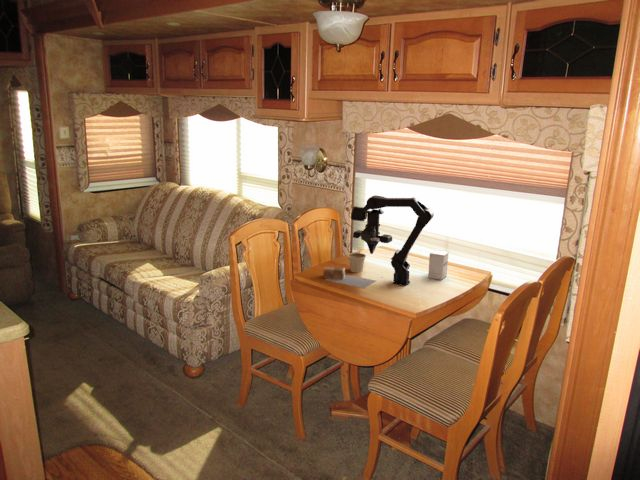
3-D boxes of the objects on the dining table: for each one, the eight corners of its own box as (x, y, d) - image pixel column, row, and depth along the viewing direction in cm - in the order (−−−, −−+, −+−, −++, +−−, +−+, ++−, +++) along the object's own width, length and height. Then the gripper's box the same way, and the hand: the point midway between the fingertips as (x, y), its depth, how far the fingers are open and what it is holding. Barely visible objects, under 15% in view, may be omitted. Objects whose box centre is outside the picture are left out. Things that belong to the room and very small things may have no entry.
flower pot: (344, 272, 264) (344, 256, 262) (351, 267, 272) (352, 251, 270) (361, 275, 260) (361, 258, 258) (368, 270, 268) (368, 254, 266)
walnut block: (345, 268, 255) (325, 266, 257) (343, 270, 251) (323, 269, 253) (345, 276, 256) (325, 275, 258) (343, 279, 252) (323, 278, 254)
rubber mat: (376, 281, 251) (376, 280, 251) (364, 289, 240) (364, 288, 240) (337, 273, 262) (337, 272, 262) (324, 280, 252) (324, 279, 252)
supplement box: (442, 280, 254) (443, 255, 250) (427, 277, 257) (429, 253, 254) (447, 276, 260) (448, 252, 257) (433, 273, 264) (434, 249, 260)
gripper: (347, 222, 245) (346, 254, 249) (383, 228, 235) (381, 260, 239) (359, 218, 254) (357, 249, 258) (393, 223, 245) (391, 255, 249)
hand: (371, 253), depth 251 cm, fingers closed
